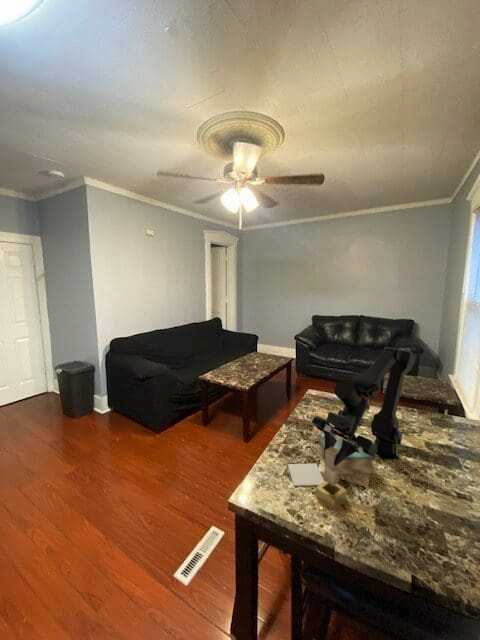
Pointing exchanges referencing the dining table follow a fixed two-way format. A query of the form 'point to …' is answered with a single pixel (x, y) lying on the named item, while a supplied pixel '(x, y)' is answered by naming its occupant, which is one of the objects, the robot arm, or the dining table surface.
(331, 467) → the brown square block
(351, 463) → the drawer
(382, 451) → the robot arm
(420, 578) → the dining table surface
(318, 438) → the adjustable wrench
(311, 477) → the grey mat
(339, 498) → the frame
